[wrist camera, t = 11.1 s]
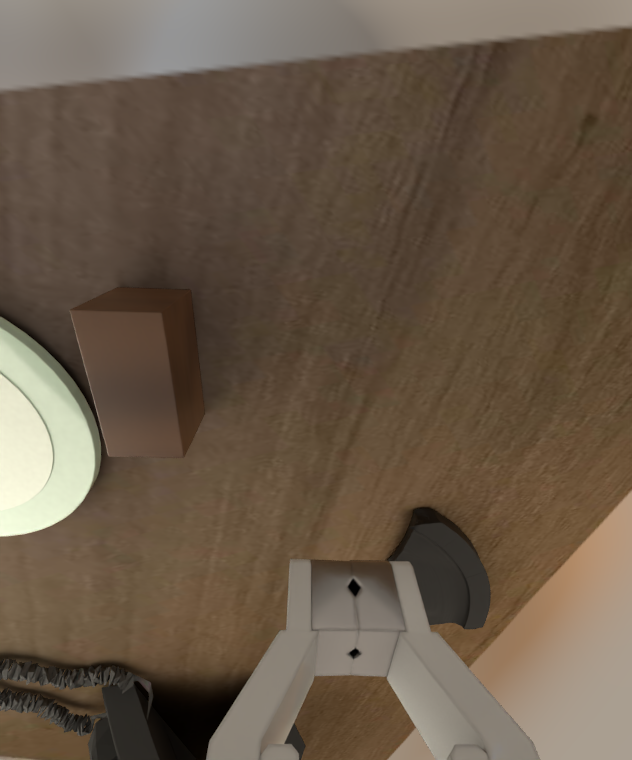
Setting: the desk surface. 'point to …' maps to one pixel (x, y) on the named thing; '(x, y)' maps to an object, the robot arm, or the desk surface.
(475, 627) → the fan shaped piece
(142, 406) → the walnut block
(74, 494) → the plate
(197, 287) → the desk surface
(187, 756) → the office phone
